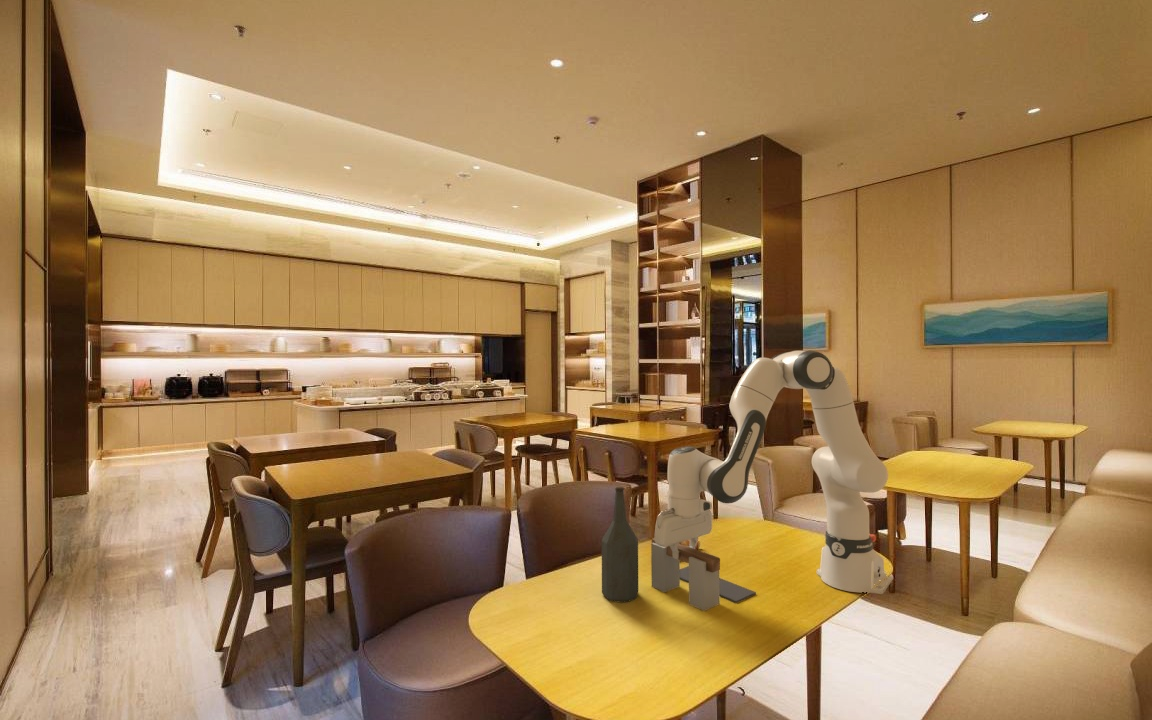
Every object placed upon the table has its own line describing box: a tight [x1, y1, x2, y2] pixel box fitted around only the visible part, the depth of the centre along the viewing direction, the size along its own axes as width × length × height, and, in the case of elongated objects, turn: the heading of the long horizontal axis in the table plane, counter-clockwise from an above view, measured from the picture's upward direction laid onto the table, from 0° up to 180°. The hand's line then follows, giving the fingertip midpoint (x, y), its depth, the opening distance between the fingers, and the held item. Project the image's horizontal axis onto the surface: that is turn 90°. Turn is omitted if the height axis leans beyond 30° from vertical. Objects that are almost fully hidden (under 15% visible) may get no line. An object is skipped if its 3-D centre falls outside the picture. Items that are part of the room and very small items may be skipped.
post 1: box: [650, 542, 681, 593], centre depth 151 cm, size 6×5×12 cm
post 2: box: [688, 551, 721, 612], centre depth 140 cm, size 6×5×12 cm
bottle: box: [601, 486, 639, 603], centre depth 146 cm, size 10×10×30 cm
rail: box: [650, 537, 721, 573], centre depth 146 cm, size 3×22×3 cm, turn 37°
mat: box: [680, 565, 757, 604], centre depth 152 cm, size 9×24×1 cm, turn 37°
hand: (684, 555), depth 146 cm, fingers open, 5 cm apart
